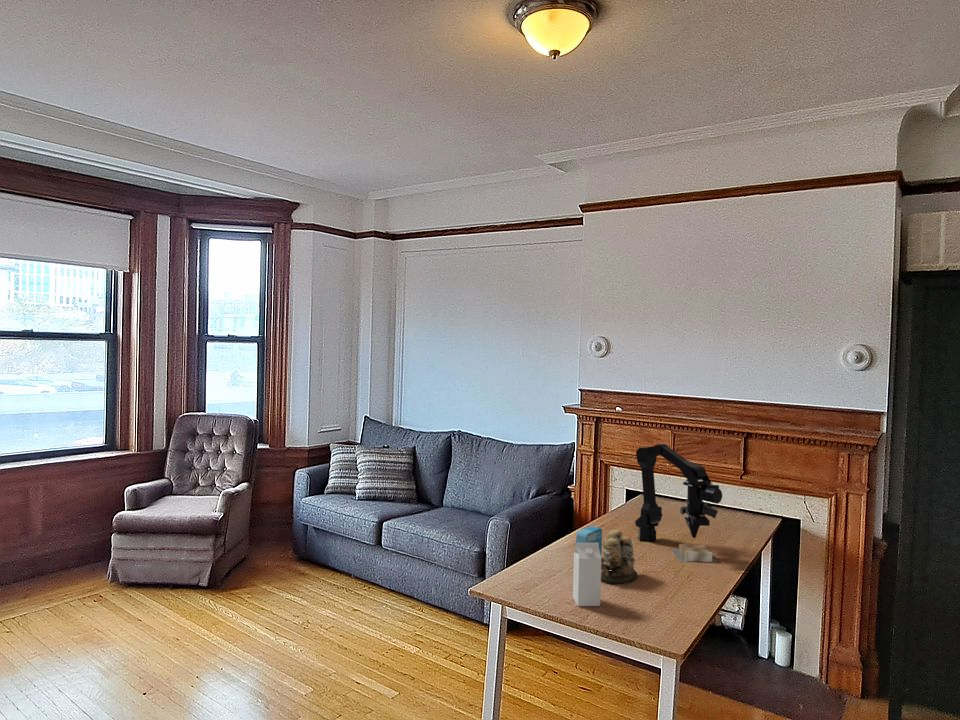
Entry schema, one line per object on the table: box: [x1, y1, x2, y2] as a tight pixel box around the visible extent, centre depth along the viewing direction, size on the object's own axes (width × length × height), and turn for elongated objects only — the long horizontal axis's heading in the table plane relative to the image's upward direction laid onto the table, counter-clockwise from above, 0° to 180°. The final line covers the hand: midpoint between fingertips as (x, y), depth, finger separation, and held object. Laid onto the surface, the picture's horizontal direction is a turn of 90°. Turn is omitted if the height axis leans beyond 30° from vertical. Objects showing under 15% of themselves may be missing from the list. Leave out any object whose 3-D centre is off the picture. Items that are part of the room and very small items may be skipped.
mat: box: [670, 548, 719, 564], centre depth 251 cm, size 14×15×1 cm
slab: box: [678, 543, 713, 563], centre depth 249 cm, size 10×4×9 cm
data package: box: [575, 525, 603, 556], centre depth 244 cm, size 12×4×12 cm, turn 140°
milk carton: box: [572, 543, 602, 607], centre depth 204 cm, size 7×7×19 cm
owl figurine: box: [601, 529, 638, 586], centre depth 227 cm, size 18×12×17 cm, turn 140°
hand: (693, 537), depth 251 cm, fingers closed
